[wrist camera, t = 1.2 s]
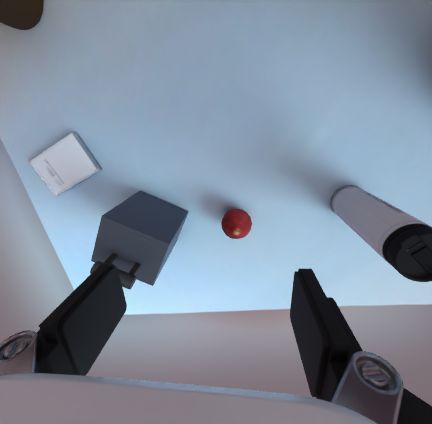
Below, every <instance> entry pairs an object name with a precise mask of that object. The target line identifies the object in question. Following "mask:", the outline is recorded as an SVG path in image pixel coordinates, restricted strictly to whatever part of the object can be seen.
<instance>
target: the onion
mask: <svg viewBox="0 0 432 424" xmlns="http://www.w3.org/2000/svg"><path fill="white" fill-rule="evenodd" d="M251 226H252V222H251V218H250V216H249V215H248V213H247V212H245V211H243V210H241V209H231V210H230V211H228V212H227V213H226V214H225V215H224V217H223V219H222V229H223V231H224V232H225V234H226V235H227V236H229V237H230V238H232V239H239V238H243V237H245V236H246V235H247V234H248V233H249V231H250V229H251Z"/></svg>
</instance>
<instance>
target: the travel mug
mask: <svg viewBox="0 0 432 424" xmlns="http://www.w3.org/2000/svg"><path fill="white" fill-rule="evenodd" d="M331 208H332V210H333V211H334V212H335V213H336V214H337V215H338V216H339V217H340V218H341V219H342V220H343V221H344V222H345V223H346V224H347V225H348V226H350V227H351V228H352V229H353V230H354V231H355V232H356V233H357V234H358V235H359V236H360V237H361V238H362V239H363V240H364V241H365V242H367V243H368V244H369V245H370V246H371V247H372V248H373V249H374V250H375V251H376V252H377V253H378V254H379V255H380V256H381V257H383V258H384V259H385V260H386V261H387V262H388V263H390V264H391V265H392V266H393V267H394V268H395V269H396V270H397V271H398V272H399V273H400V274H402V275H403V276H404V277H406V278H408V279H410V280H413V281H419V282H428V281H432V227H431V226H429V225H427V224H426V223H424V222H422V221H420V220H418V219H416V218H415V217H413V216H411V215H409V214H407V213H405V212H403V211H402V210H400V209H398V208H396V207H394V206H392V205H390V204H389V203H387V202H385V201H383V200H381V199H379V198H377V197H376V196H374V195H372V194H370V193H368V192H366V191H364V190H363V189H361V188H359V187H357V186H346V187H343V188H341V189H339V190H338V191H337V192H336V193H335V194H334V195H333V197H332V199H331Z"/></svg>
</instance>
